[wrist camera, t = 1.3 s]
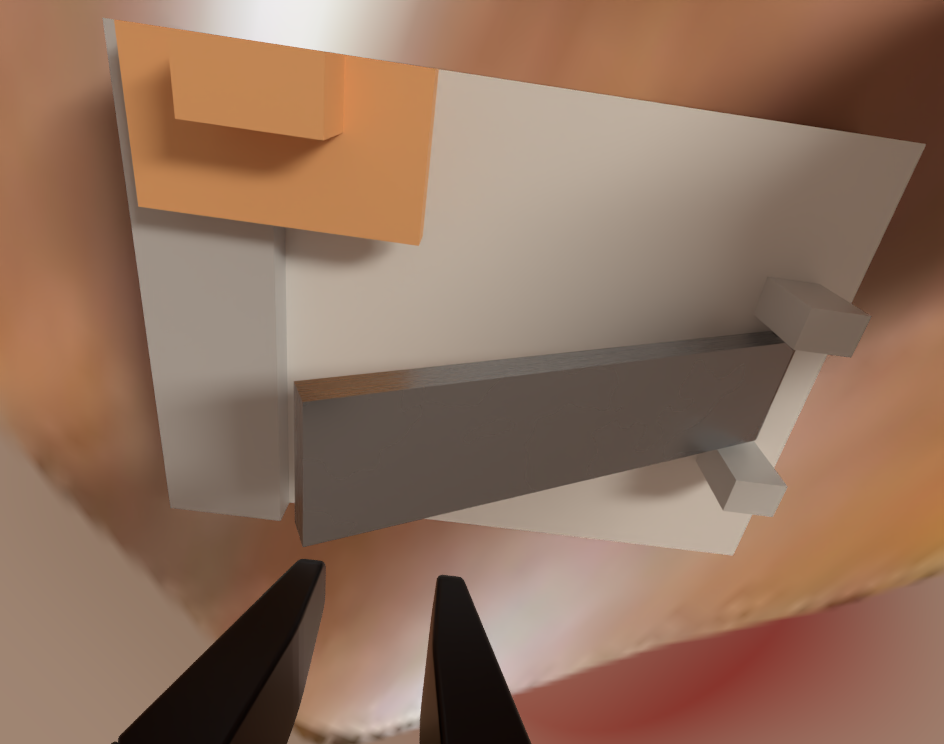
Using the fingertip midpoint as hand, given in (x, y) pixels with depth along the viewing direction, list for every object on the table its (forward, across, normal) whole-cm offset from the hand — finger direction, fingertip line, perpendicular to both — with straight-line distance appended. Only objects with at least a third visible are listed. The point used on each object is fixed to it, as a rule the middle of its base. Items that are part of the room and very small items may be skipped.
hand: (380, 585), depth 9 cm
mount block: (+13, -2, 0) cm, 13 cm away
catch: (+9, +4, -6) cm, 11 cm away
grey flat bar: (+7, -4, 0) cm, 8 cm away
